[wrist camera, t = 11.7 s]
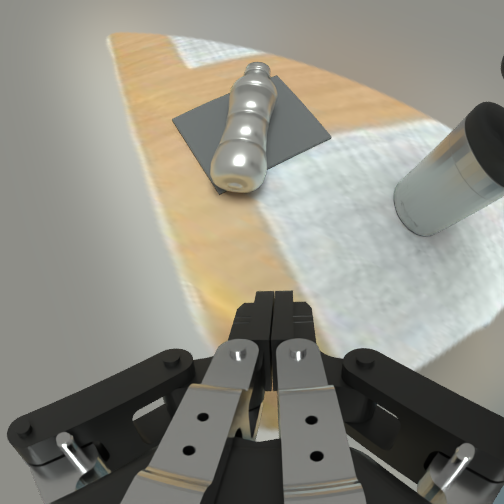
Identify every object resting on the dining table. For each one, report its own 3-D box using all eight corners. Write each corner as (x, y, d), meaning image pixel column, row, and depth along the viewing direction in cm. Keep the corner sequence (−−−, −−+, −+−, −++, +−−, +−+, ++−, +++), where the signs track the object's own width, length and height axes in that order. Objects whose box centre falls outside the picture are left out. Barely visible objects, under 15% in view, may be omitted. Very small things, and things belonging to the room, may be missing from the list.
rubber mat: (276, 77, 43) (276, 75, 43) (330, 138, 41) (331, 137, 41) (172, 120, 40) (172, 119, 40) (219, 194, 38) (219, 193, 38)
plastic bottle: (230, 202, 39) (252, 90, 44) (275, 195, 35) (289, 76, 40) (194, 180, 34) (226, 65, 39) (241, 168, 30) (264, 48, 35)
